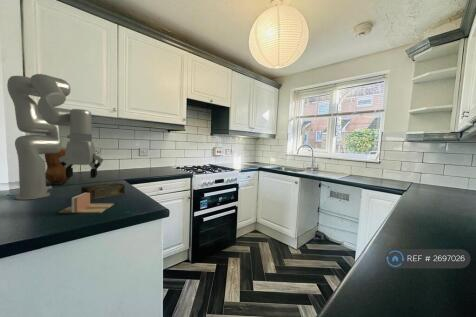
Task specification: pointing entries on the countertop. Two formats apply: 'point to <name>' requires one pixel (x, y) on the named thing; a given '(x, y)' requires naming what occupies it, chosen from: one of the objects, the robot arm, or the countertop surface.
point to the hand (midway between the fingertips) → (81, 177)
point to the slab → (80, 202)
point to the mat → (90, 208)
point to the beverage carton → (104, 190)
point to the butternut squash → (56, 168)
